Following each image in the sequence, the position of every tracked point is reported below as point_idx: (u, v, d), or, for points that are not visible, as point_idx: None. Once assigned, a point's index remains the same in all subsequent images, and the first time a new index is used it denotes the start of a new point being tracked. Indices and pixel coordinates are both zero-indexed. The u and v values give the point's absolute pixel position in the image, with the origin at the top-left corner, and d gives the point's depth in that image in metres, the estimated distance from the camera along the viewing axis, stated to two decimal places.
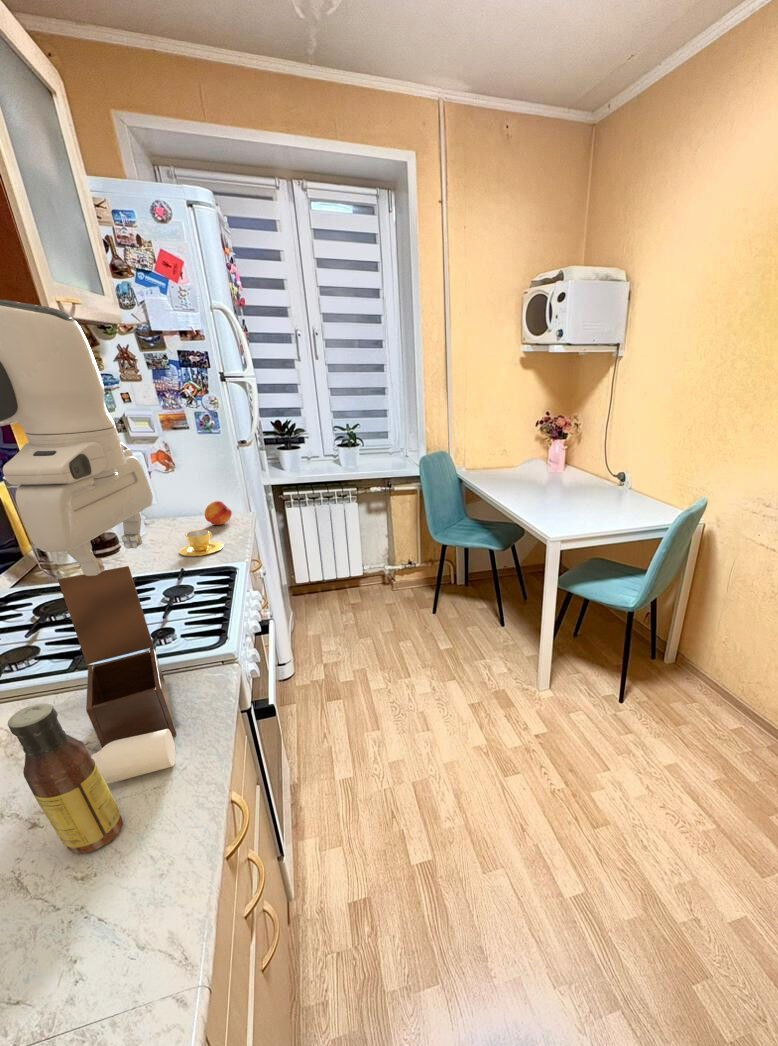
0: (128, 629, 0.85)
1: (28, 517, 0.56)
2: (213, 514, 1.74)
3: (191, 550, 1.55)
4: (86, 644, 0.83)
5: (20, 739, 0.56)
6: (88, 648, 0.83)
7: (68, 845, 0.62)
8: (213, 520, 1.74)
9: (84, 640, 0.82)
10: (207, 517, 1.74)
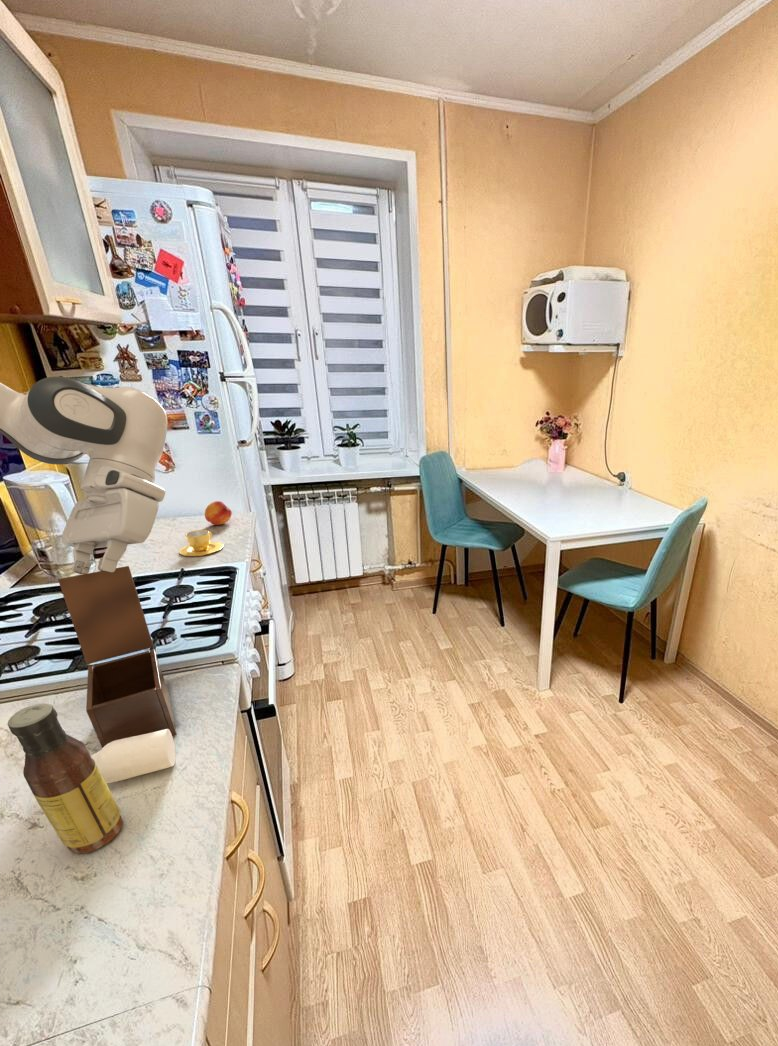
0: (128, 629, 0.85)
1: (132, 509, 0.74)
2: (213, 514, 1.74)
3: (191, 550, 1.55)
4: (86, 644, 0.83)
5: (20, 739, 0.56)
6: (88, 648, 0.83)
7: (68, 845, 0.62)
8: (213, 520, 1.74)
9: (84, 640, 0.82)
10: (207, 517, 1.74)
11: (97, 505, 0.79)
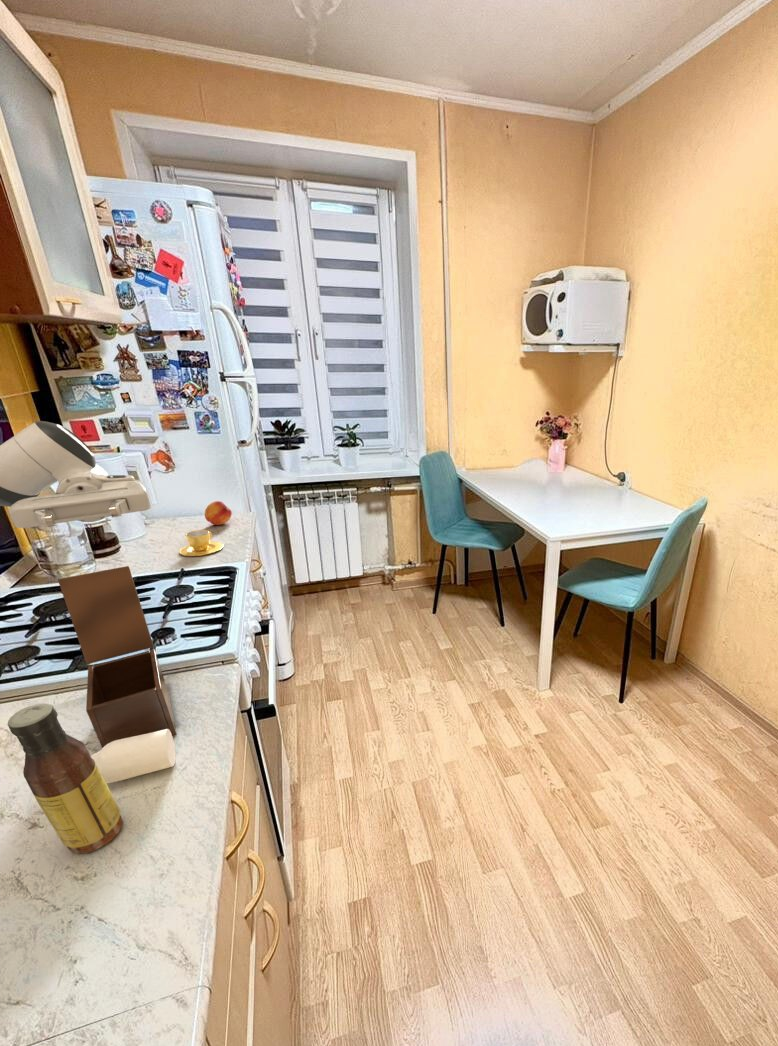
0: (128, 629, 0.85)
1: None
2: (213, 514, 1.74)
3: (191, 550, 1.55)
4: (86, 644, 0.83)
5: (20, 739, 0.56)
6: (88, 648, 0.83)
7: (68, 845, 0.62)
8: (213, 520, 1.74)
9: (84, 640, 0.82)
10: (207, 517, 1.74)
11: (79, 493, 0.94)
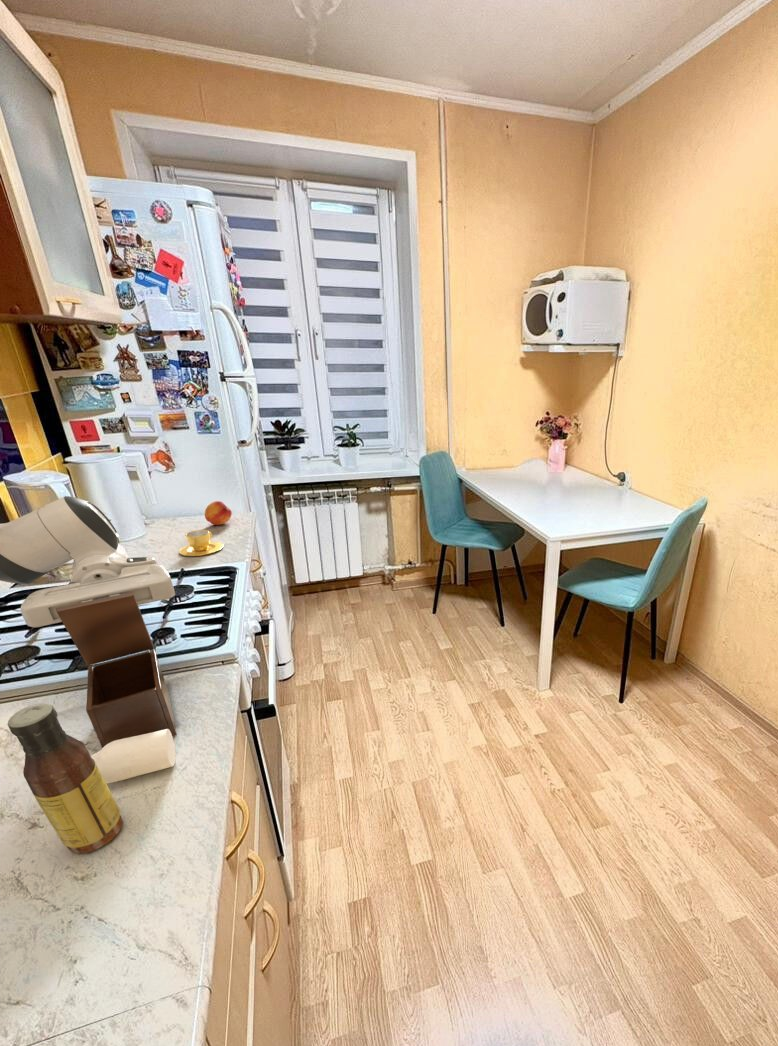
0: (130, 639, 0.84)
1: None
2: (213, 514, 1.74)
3: (191, 550, 1.55)
4: (87, 653, 0.81)
5: (20, 739, 0.56)
6: (89, 655, 0.82)
7: (68, 845, 0.62)
8: (213, 520, 1.74)
9: (85, 651, 0.81)
10: (207, 517, 1.74)
11: (96, 581, 0.86)
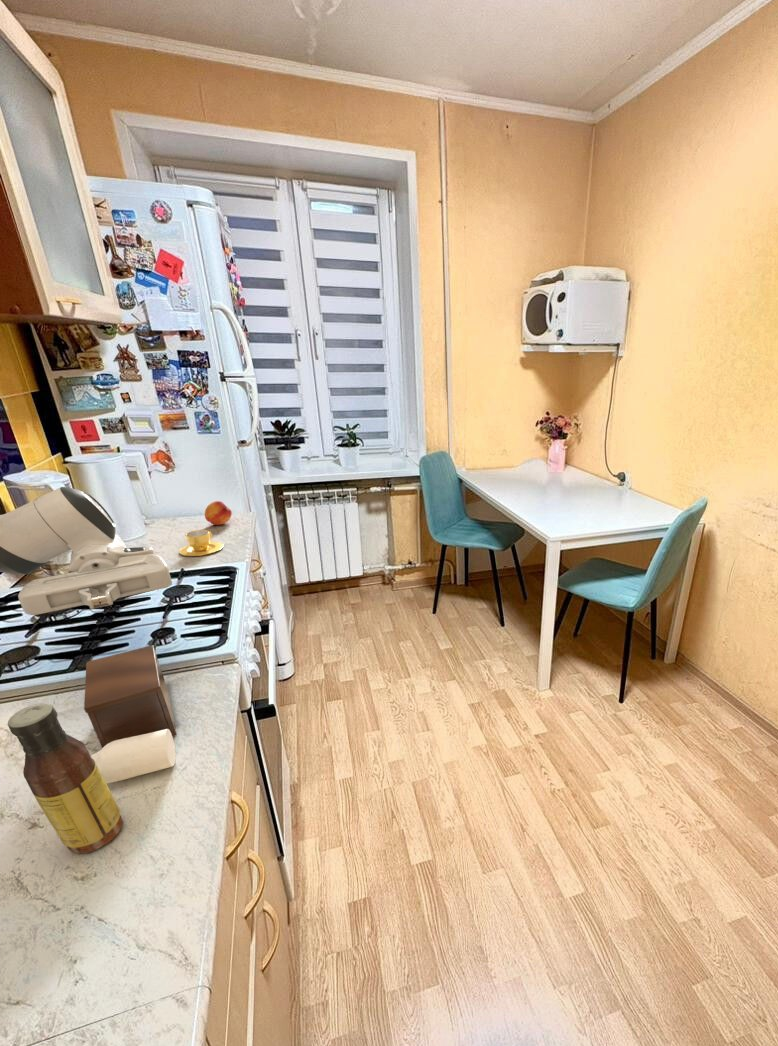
0: None
1: None
2: (213, 514, 1.74)
3: (191, 550, 1.55)
4: None
5: (20, 739, 0.56)
6: None
7: (68, 845, 0.62)
8: (213, 520, 1.74)
9: None
10: (207, 517, 1.74)
11: (94, 570, 0.86)
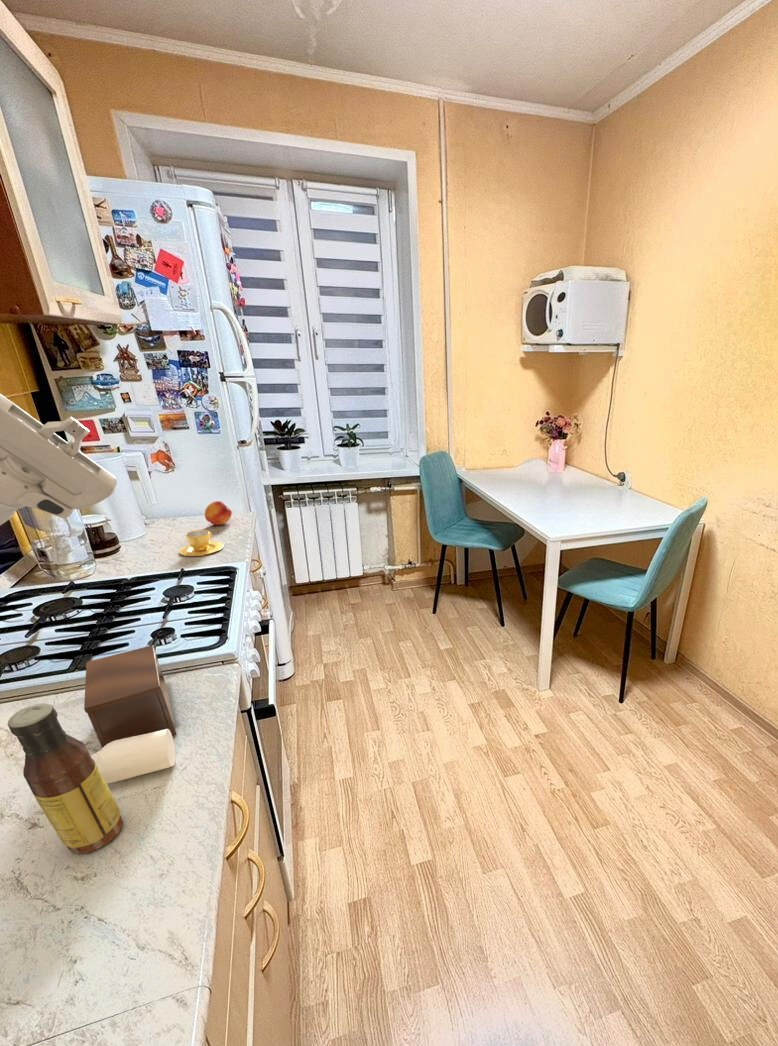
0: None
1: None
2: (213, 514, 1.74)
3: (191, 550, 1.55)
4: None
5: (20, 739, 0.56)
6: None
7: (68, 845, 0.62)
8: (213, 520, 1.74)
9: None
10: (207, 517, 1.74)
11: None
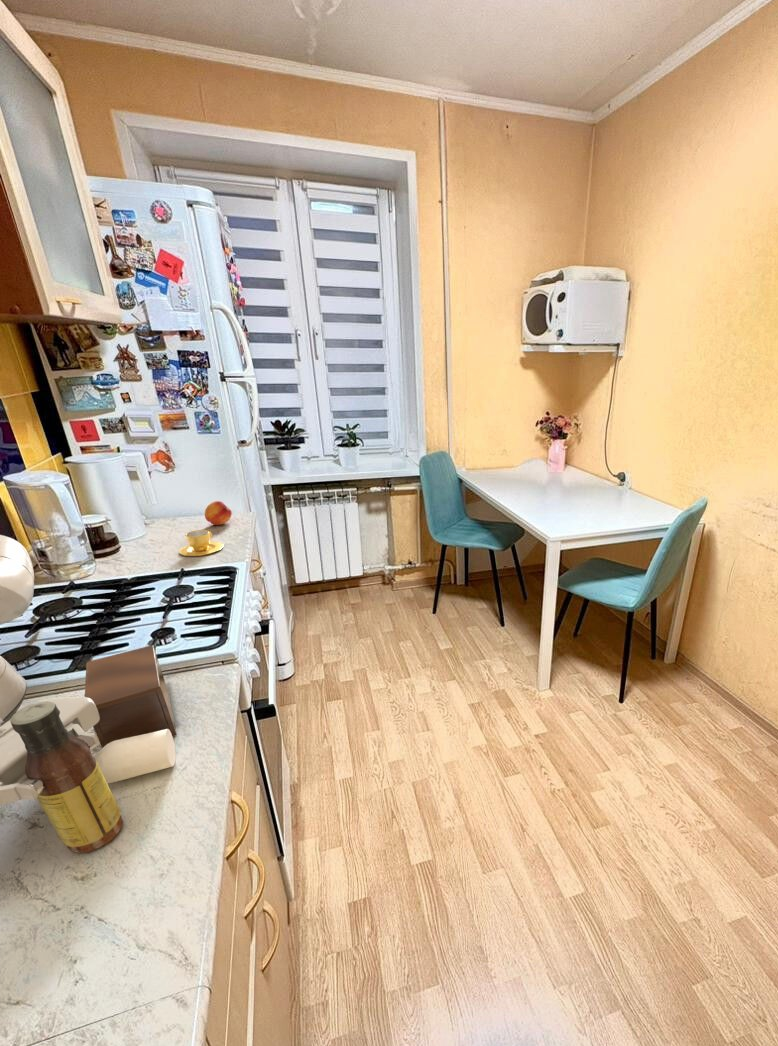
0: None
1: None
2: (213, 514, 1.74)
3: (191, 550, 1.55)
4: None
5: (22, 736, 0.56)
6: None
7: (68, 844, 0.62)
8: (213, 520, 1.74)
9: None
10: (207, 517, 1.74)
11: None
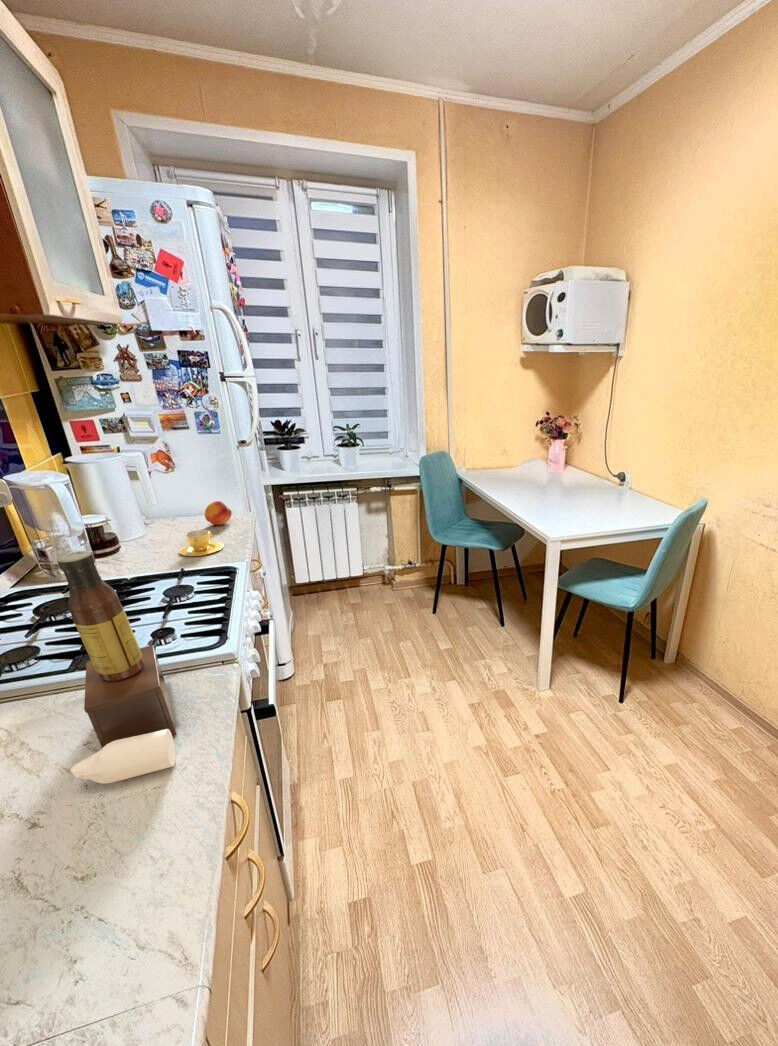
0: None
1: None
2: (213, 514, 1.74)
3: (191, 550, 1.55)
4: None
5: (67, 574, 0.71)
6: None
7: (101, 672, 0.77)
8: (213, 520, 1.74)
9: None
10: (207, 517, 1.74)
11: None
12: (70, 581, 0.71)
